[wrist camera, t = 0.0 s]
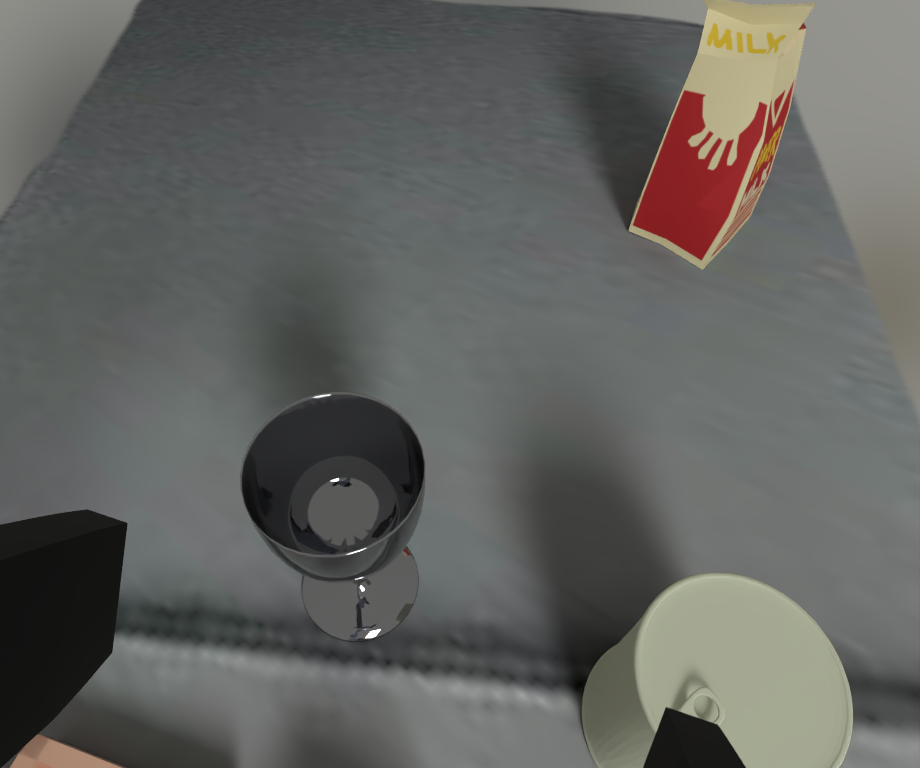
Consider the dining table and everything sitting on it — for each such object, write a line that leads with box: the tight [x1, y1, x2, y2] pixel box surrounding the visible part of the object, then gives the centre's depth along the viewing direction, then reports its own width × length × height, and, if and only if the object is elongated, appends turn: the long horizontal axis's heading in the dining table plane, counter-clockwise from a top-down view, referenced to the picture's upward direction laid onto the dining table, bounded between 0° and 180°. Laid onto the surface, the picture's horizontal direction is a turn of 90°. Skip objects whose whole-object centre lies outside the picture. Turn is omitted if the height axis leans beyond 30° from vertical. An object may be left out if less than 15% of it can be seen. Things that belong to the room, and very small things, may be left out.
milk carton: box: [629, 0, 816, 270], centre depth 54 cm, size 9×9×20 cm
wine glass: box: [240, 392, 425, 642], centre depth 36 cm, size 8×8×15 cm
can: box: [582, 572, 853, 768], centre depth 33 cm, size 9×9×12 cm
